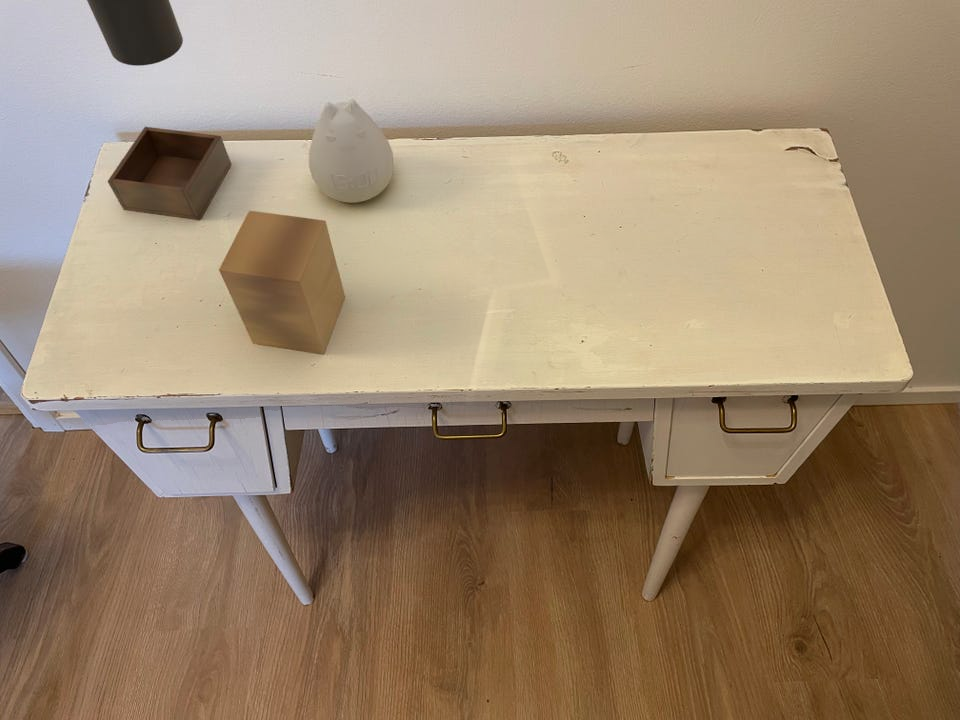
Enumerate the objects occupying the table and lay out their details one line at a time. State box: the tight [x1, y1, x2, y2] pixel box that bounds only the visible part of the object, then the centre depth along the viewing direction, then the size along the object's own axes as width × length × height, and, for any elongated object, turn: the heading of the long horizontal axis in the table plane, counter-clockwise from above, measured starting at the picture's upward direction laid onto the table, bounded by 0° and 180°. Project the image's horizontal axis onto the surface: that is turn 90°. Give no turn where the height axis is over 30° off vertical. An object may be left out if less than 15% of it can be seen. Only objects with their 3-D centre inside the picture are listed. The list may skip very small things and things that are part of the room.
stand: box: [218, 210, 346, 355], centre depth 75 cm, size 8×8×12 cm
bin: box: [107, 126, 232, 221], centre depth 90 cm, size 10×10×5 cm
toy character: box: [308, 98, 395, 204], centre depth 87 cm, size 10×10×12 cm
